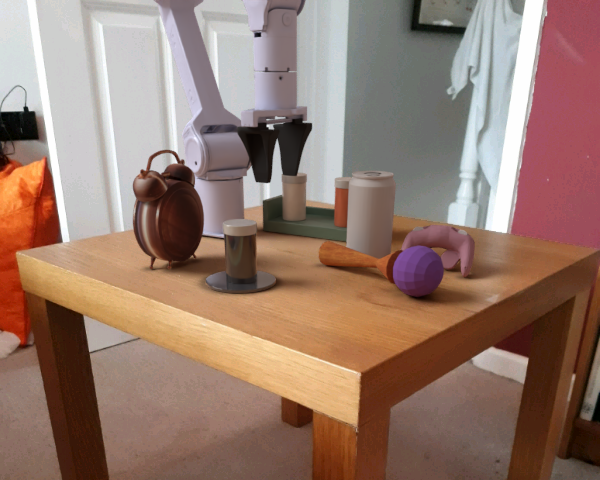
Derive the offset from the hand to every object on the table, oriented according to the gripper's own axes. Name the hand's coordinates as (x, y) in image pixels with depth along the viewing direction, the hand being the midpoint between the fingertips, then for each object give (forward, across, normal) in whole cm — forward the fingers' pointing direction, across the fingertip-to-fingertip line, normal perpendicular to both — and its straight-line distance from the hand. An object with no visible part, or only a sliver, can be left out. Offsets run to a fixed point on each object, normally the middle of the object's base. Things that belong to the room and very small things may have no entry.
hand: (276, 178), depth 91 cm
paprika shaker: (+9, +14, -5) cm, 17 cm away
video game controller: (+11, +2, -24) cm, 26 cm away
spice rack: (+10, +15, 0) cm, 18 cm away
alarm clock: (+11, -14, +9) cm, 19 cm away
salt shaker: (+8, +14, +5) cm, 17 cm away
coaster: (+10, -16, -4) cm, 19 cm away
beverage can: (+11, +2, -14) cm, 18 cm away
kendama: (+11, -7, -19) cm, 23 cm away
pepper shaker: (+10, -16, -4) cm, 19 cm away
